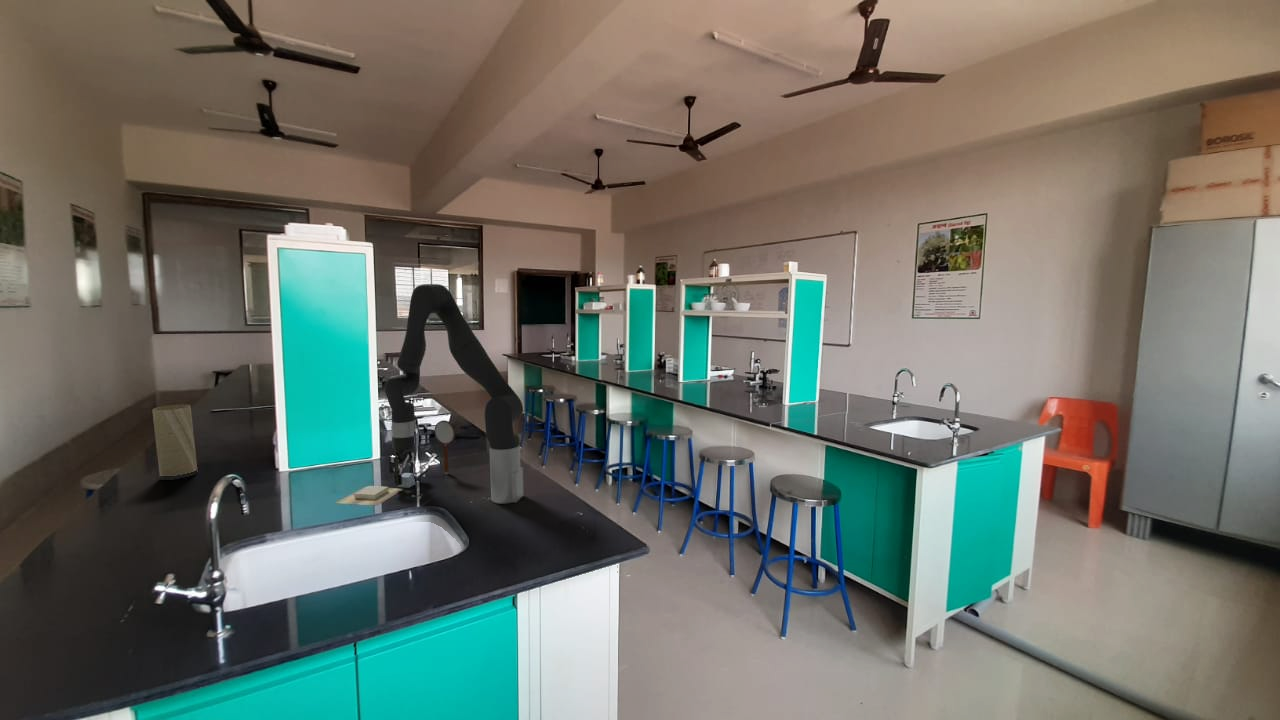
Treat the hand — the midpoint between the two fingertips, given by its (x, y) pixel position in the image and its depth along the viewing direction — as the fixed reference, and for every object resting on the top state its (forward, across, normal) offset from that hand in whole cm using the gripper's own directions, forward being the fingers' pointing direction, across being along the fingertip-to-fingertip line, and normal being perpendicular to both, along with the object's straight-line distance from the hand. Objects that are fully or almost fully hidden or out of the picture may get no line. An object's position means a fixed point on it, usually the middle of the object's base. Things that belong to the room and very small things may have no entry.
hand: (406, 480), depth 175 cm
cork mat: (+2, -10, +6) cm, 12 cm away
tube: (+3, -2, +86) cm, 86 cm away
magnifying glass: (+2, +12, -8) cm, 15 cm away
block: (+2, 0, 0) cm, 2 cm away
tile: (+1, -6, +6) cm, 9 cm away
